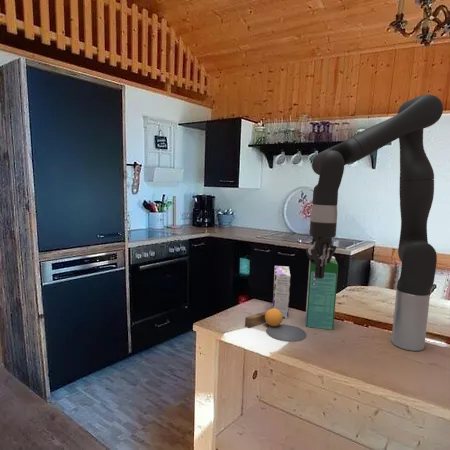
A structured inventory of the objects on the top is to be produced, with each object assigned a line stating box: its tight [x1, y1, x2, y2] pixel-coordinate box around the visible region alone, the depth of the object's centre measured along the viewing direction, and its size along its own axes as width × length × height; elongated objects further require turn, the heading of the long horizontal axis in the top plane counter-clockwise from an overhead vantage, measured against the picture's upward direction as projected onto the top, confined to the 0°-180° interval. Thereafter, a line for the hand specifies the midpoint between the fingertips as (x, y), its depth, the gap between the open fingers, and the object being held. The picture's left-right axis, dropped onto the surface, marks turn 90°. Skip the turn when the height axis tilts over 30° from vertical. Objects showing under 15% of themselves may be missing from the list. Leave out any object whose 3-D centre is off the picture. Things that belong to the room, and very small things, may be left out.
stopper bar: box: [244, 310, 268, 329], centre depth 126 cm, size 14×2×3 cm, turn 132°
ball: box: [265, 307, 284, 326], centre depth 123 cm, size 6×6×6 cm
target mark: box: [265, 323, 307, 342], centre depth 118 cm, size 13×13×1 cm
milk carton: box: [305, 255, 339, 331], centre depth 125 cm, size 9×9×25 cm
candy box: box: [272, 265, 291, 319], centre depth 136 cm, size 14×6×16 cm, turn 172°
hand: (319, 277), depth 107 cm, fingers closed
